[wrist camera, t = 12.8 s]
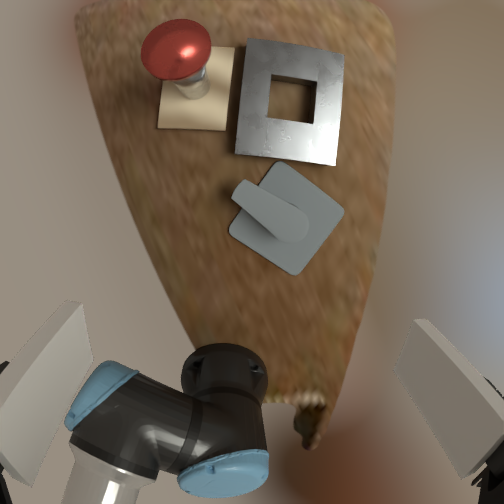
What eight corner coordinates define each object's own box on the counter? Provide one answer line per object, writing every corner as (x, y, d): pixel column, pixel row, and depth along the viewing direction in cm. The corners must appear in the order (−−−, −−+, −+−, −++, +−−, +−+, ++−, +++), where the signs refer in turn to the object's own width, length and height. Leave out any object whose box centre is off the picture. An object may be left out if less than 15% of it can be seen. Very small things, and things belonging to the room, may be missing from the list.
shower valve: (266, 145, 34) (359, 217, 37) (262, 147, 39) (344, 209, 42) (207, 229, 36) (302, 291, 40) (210, 220, 41) (294, 275, 45)
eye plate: (328, 165, 40) (335, 165, 37) (234, 153, 38) (234, 153, 35) (337, 60, 35) (344, 54, 32) (246, 45, 33) (247, 37, 31)
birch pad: (225, 131, 37) (225, 130, 36) (159, 128, 36) (157, 127, 35) (234, 50, 34) (234, 47, 32) (170, 49, 33) (168, 46, 32)
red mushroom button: (215, 107, 35) (206, 79, 21) (170, 106, 34) (136, 79, 20) (220, 66, 33) (215, 19, 19) (175, 65, 33) (147, 20, 18)
